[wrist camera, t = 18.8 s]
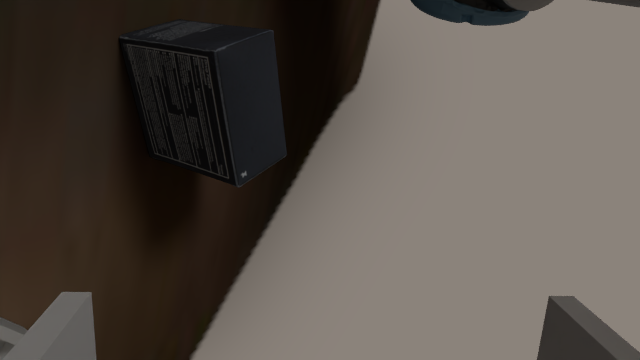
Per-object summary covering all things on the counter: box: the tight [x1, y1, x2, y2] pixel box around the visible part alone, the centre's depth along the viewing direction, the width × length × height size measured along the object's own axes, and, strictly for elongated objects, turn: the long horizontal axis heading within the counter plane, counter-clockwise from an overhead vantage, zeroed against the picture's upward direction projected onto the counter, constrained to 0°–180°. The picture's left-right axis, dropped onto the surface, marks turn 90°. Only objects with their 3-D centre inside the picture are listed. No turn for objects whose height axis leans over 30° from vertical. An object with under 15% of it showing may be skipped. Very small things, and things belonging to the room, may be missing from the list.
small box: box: [119, 19, 287, 187], centre depth 39 cm, size 11×6×10 cm, turn 5°
